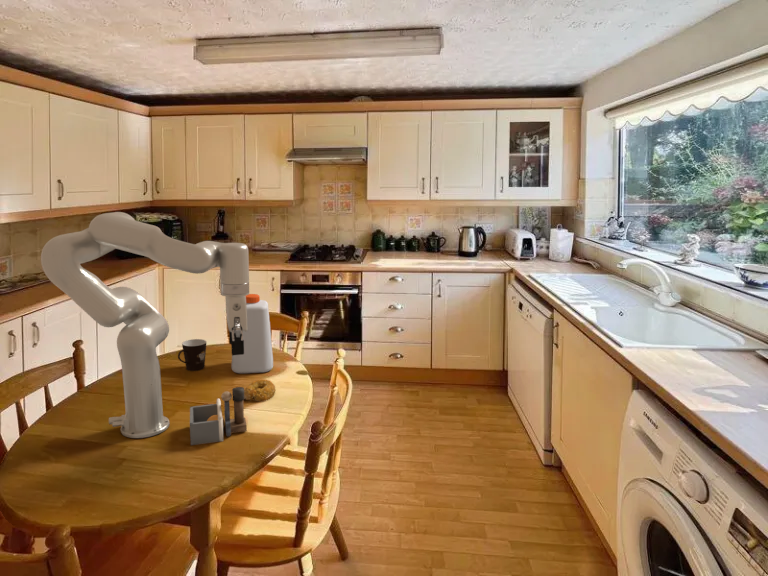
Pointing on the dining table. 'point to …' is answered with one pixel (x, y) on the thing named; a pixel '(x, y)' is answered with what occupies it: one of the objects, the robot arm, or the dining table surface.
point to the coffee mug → (194, 354)
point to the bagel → (260, 390)
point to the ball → (215, 417)
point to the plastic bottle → (255, 339)
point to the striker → (239, 421)
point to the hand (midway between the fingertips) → (236, 348)
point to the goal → (206, 424)
